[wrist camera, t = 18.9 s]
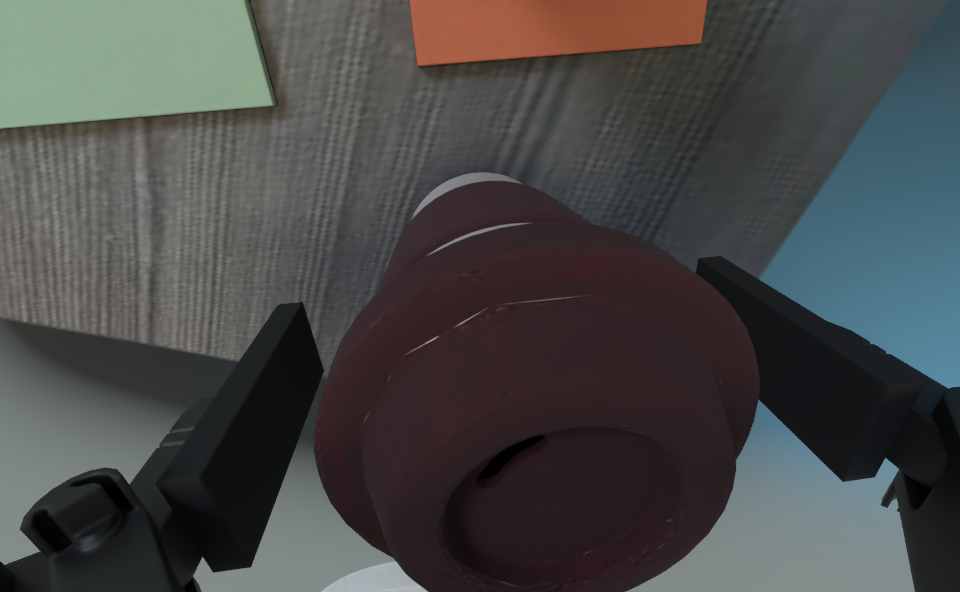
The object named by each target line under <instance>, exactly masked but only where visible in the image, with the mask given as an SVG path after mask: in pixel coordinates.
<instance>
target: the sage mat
mask: <svg viewBox="0 0 960 592" xmlns="http://www.w3.org/2000/svg"><path fill="white" fill-rule="evenodd" d="M276 105H277V103H276V100H275V96H274V92H273V89H272V85H271V81H270V78H269V74H268V70H267V67H266V63H265V59H264V56H263V52H262V48H261V44H260V41H259V37H258V33H257V30H256V26H255V22H254V19H253V15H252V11H251V8H250V4H249V0H0V129H4V128H16V127H28V126H40V125H52V124H64V123H76V122H88V121H100V120H112V119H124V118H136V117H147V116H159V115H171V114H183V113H195V112H207V111H219V110H231V109H243V108H255V107H267V106H276Z"/></svg>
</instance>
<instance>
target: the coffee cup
mask: <svg viewBox="0 0 960 592" xmlns="http://www.w3.org/2000/svg"><path fill="white" fill-rule="evenodd" d="M759 394H760V376H759V370H758V365H757V359H756V354H755V349H754V346H753V344H752V341H751V338H750V336H749V333H748V330H747V328H746V327H745V325H744V323H743V322H742V320H741V318H740V317H739V315H738V314H737V312H736V311H735V310H734V308H733V307H732V306H731V304H730V303H729V302H728V300H727V299H726V298H725V297H723V296H722V295H721V294H720V293H719V292H718V291H717V290H716V289H715V288H714V287H713V286H712V285H710V284H709V283H708V282H707V281H705V280H704V279H703V278H701V277H700V276H699V275H697V274H696V273H694V272H693V271H692V270H690V269H689V268H688V267H686V266H685V265H684V264H682V263H681V262H679V261H678V260H677V259H675V258H674V257H672V256H671V255H669V254H668V253H666V252H665V251H664V250H662V249H660V248H658V247H656V246H654V245H652V244H650V243H649V242H647V241H645V240H643V239H641V238H639V237H636V236H633V235H630V234H626V233H623V232H620V231H617V230H613V229H609V228H605V227H600V226H596V225H593V224H592V223H590V222H589V221H587V220H586V219H584V218H583V217H581V216H580V215H578V214H577V213H575V212H574V211H572V210H571V209H569V208H567V207H566V206H564V205H563V204H561V203H560V202H558V201H557V200H555V199H554V198H552V197H551V196H549V195H547V194H546V193H544V192H542V191H540V190H537V189H535V188H532V187H530V186H527V185H524V184H522V183H521V182H519V181H517V180H515V179H513V178H511V177H508V176H505V175H501V174H496V173H488V172H478V173H470V174H464V175H461V176H458V177H456V178H453V179H450V180H448V181H446V182H444V183H442V184H441V185H439V186H438V187H436V188H435V189H434V190H433V191H431V192H430V193H429V194H428V195H427V196H426V197H425V198H424V200H423V201H422V202H421V203H420V205H419V206H418V208H417V209H416V211H415V213H414V215H413V217H412V219H411V221H410V222H409V224H408V225H407V226H406V228H405V230H404V231H403V233H402V235H401V236H400V238H399V240H398V243H397V245H396V247H395V250H394V252H393V255H392V257H391V260H390V262H389V265H388V267H387V270H386V272H385V275H384V278H383V280H382V283H381V285H380V288H379V290H378V293H377V294H376V295H375V296H374V298H373V299H372V300H371V301H370V302H369V303H368V304H367V305H366V306H365V308H364V309H363V310H362V311H361V312H360V314H359V315H358V316H357V318H356V319H355V321H354V322H353V324H352V325H351V327H350V328H349V330H348V331H347V333H346V334H345V336H344V338H343V340H342V342H341V343H340V345H339V347H338V350H337V352H336V355H335V357H334V360H333V363H332V366H331V369H330V372H329V375H328V378H327V381H326V384H325V387H324V390H323V393H322V396H321V399H320V402H319V406H318V410H317V415H316V420H315V429H314V453H315V459H316V464H317V469H318V472H319V476H320V479H321V482H322V485H323V488H324V489H325V492H326V494H327V496H328V498H329V500H330V502H331V504H332V505H333V506H334V508H335V509H336V510H337V512H338V513H339V514H340V516H341V517H342V518H343V520H344V521H345V522H346V524H347V525H348V526H350V527H351V528H352V529H353V530H354V531H355V532H356V533H358V534H359V535H360V536H361V537H362V538H363V539H365V540H366V541H367V542H368V543H369V544H370V545H371V546H373V547H375V548H377V549H378V550H380V551H382V552H384V553H386V554H387V555H389V556H391V557H393V558H394V559H395V561H396V562H397V563H398V565H399V566H400V567H401V569H402V570H403V571H404V573H405V574H406V575H407V576H409V577H410V578H411V579H412V580H413V581H414V582H416V583H417V584H418V585H420V586H421V587H422V588H424V589H425V590H426V591H428V592H625V591H628V590H630V589H632V588H634V587H637V586H639V585H640V584H642V583H644V582H646V581H648V580H650V579H652V578H654V577H656V576H657V575H659V574H661V573H662V572H664V571H666V570H667V569H669V568H670V567H671V566H672V565H674V564H676V563H677V562H678V561H680V560H681V559H683V558H684V557H685V556H686V555H687V554H688V553H689V552H690V551H691V550H692V549H693V548H694V547H695V546H696V545H697V544H699V542H701V541H702V540H703V539H704V538H705V537H706V536H707V534H709V532H710V531H711V529H712V528H713V526H714V525H715V523H716V522H717V520H718V519H719V517H720V516H721V514H722V513H723V511H724V509H725V507H726V504H727V502H728V499H729V497H730V494H731V491H732V489H733V484H734V478H735V472H736V459H737V457H738V456H739V454H740V453H741V451H742V449H743V446H744V444H745V442H746V440H747V438H748V436H749V433H750V430H751V427H752V424H753V422H754V417H755V413H756V408H757V403H758V398H759Z"/></svg>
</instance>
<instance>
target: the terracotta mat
mask: <svg viewBox="0 0 960 592" xmlns="http://www.w3.org/2000/svg"><path fill="white" fill-rule="evenodd" d="M409 2H410V10H411V18H412V26H413V34H414V42H415V50H416V58H417V65H418V66H419V67H420V66H432V65H445V64H457V63H470V62H482V61H495V60H507V59H520V58H532V57H545V56H557V55H570V54H582V53H595V52H607V51H620V50H632V49H645V48H657V47H670V46H682V45H695V44H700V43H701V40H702V33H703V27H704V20H705V13H706V6H707V0H409Z"/></svg>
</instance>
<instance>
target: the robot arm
mask: <svg viewBox="0 0 960 592" xmlns="http://www.w3.org/2000/svg"><path fill="white" fill-rule="evenodd" d="M696 274H697V275H699V276H700V277H701V278H703V279H704V280H705V281H707V282H708V283H709V284H710V285H712V286H713V287H714V288H715V289H716V290H717V291H718V292H719V293H720V294H721V295H722V296H723V297H725V298H726V299H727V300H728V302H729V303H730V304H731V306H732V307H733V308H734V310H735V311H736V312H737V314H738V315H739V317H740V318H741V320H742V322H743V323H744V325H745V327H746V328H747V330H748V333H749V336H750V338H751V341H752V344H753V346H754V349H755V354H756V359H757V365H758V370H759V376H760V394H759V398H758V399H759V400H760V401H761V402H762V403H763V404H764V405H765V406H766V407H767V408H768V409H769V410H770V411H771V412H772V413H773V414H774V415H775V416H776V417H777V418H778V419H779V420H780V421H782V422H783V424H784V425H786V427H787V428H789V429H790V430H791V431H792V432H793V433H794V434H795V435H796V436H797V437H798V438H799V439H800V440H801V441H802V442H803V443H804V444H805V445H806V446H807V447H808V448H809V449H810V450H811V451H812V452H813V453H814V454H815V455H816V456H817V457H818V458H819V459H820V460H821V461H822V462H823V463H824V464H825V465H826V466H827V467H828V468H829V469H830V470H832V471H833V473H834V474H836V475H837V476H838V477H839V478H840V479H841V480H842V481H843V482H845V481H852V480H859V479H865V478H872V477H875V476H876V474H877V472H878V470H879V468H880V466H881V465H882V463H883V461H884V459H885V457H886V458H887V459H888V460H889V461H890V462H892V463H893V464H894V465H895V466H896V467H898V468H899V471H898V472H897V474H896V476H895V478H894V479H893V481H892V483H891V484H890V486H889V488H888V490H887V491H886V493H885V495H884V497H883V498H882V503H881V505H882V506H884V507H887V508H888V506H889V504H890V503H891V501H892V500H894V499H897V501H898V506H899V508H898V510H897V511H898V512H900V516H901V521H902V527H903V531H904V537H905V542H906V547H907V552H908V558H909V563H910V568H911V573H912V578H913V584H914V589H915V592H960V387H953V388H950V389H948V388H946V387H945V386H943V385H941V384H940V383H938V382H936V381H934V380H933V379H931V378H929V377H928V376H926V375H924V374H923V373H921V372H919V371H918V370H916V369H914V368H913V367H911V366H909V365H908V364H906V363H904V362H903V361H901V360H899V359H898V358H896V357H894V356H893V355H891V354H886V351H884V350H883V349H881V348H879V347H878V346H876V345H874V344H870V342H869V341H868V340H866V339H864V338H863V337H861V336H859V335H858V334H856V333H854V332H853V331H851V330H848V329H846V328H843V327H841V326H838V325H835V324H833V323H830V322H828V321H826V320H824V319H822V318H821V317H819V316H817V315H816V314H814V313H813V312H811V311H809V310H808V309H806V308H804V307H803V306H801V305H800V304H798V303H796V302H794V301H793V300H791V299H789V298H788V297H786V296H785V295H783V294H782V293H780V292H778V291H777V290H775V289H773V288H772V287H770V286H768V285H767V284H765V283H764V282H762V281H760V280H759V279H757V278H755V277H754V276H752V275H751V274H749V273H747V272H746V271H744V270H742V269H741V268H739V267H737V266H736V265H734V264H733V263H731V262H729V261H728V260H726V259H724V258H723V257H721V256H716V257H707V258H699V259H698V264H697V269H696ZM323 372H324V369H323V366H322V363H321V360H320V357H319V353H318V350H317V347H316V344H315V340H314V337H313V334H312V331H311V328H310V324H309V321H308V318H307V315H306V311H305V308H304V305H303V302H298V303H289V304H280V305H278V306H277V307H276V309H275V310H274V311H273V313H272V314H271V316H270V317H269V319H268V320H267V322H266V323H265V325H264V326H263V327H262V329H261V330H260V332H259V333H258V335H257V336H256V338H255V339H254V341H253V342H252V344H251V345H250V346H249V348H248V349H247V351H246V352H245V354H244V355H243V357H242V358H241V360H240V361H239V362H238V364H237V365H236V367H235V368H234V370H233V371H232V373H231V374H230V376H229V377H228V379H227V380H226V382H225V383H224V385H223V386H222V387H221V389H220V390H219V392H218V393H217V395H216V396H215V397H209V398H202V399H200V400H199V401H198V402H197V403H196V404H194V405H193V406H192V407H190V408H189V409H188V410H187V411H185V412H184V413H183V414H182V415H181V416H180V418H179V419H178V421H177V422H176V423H175V425H174V426H173V427H172V429H171V430H170V434H167V435H166V437H165V438H164V439H163V441H162V442H161V443H160V448H157V449H156V450H155V451H154V453H153V454H152V455H151V457H150V458H149V459H148V461H147V462H146V463H145V465H144V466H143V467H142V469H141V470H140V471H139V473H138V474H137V475H136V477H135V478H134V479H133V481H132V482H131V483H130V485H129V484H128V483H127V481H126V480H125V478H124V477H123V475H122V474H121V473H120V472H119V471H118V470H117V469H111V468H101V469H96V470H91V471H88V472H85V473H83V474H80V475H78V476H75V477H73V478H70V479H69V480H67V481H66V482H64V483H62V484H61V485H59V486H57V487H56V488H54V489H52V490H51V491H50V492H48V493H47V494H46V495H45V496H43V497H42V498H41V499H40V500H39V501H38V502H36V503H35V504H34V506H33V507H32V508H31V509H30V510H29V512H28V513H27V514H26V515H25V516H24V518H23V521H22V524H21V528H20V530H21V531H22V532H23V533H24V534H25V535H26V536H27V537H28V538H29V539H30V540H31V541H32V542H33V544H34V545H35V546H36V547H37V548H38V549H39V550H40V551H41V552H38V553H35V554H33V555H30V556H27V557H25V558H22V559H19V560H17V561H14V562H12V563H9V564H6V565H4V564H3V563H1V562H0V592H201V589H200V587H199V584H198V583H197V582H196V580H195V579H194V577H193V575H194V573H195V571H196V569H197V566H198V564H199V562H200V560H201V558H202V556H203V558H204V559H205V561H206V562H207V564H208V565H209V567H210V568H211V570H212V571H213V572H220V571H227V570H234V569H241V568H247V567H251V566H252V563H253V560H254V557H255V554H256V552H257V549H258V547H259V544H260V541H261V538H262V536H263V533H264V531H265V528H266V525H267V522H268V520H269V517H270V514H271V512H272V509H273V506H274V504H275V501H276V498H277V496H278V493H279V490H280V488H281V485H282V482H283V480H284V477H285V474H286V472H287V468H288V466H289V463H290V461H291V458H292V455H293V452H294V450H295V447H296V444H297V442H298V439H299V436H300V434H301V431H302V429H303V426H304V423H305V420H306V418H307V415H308V412H309V410H310V407H311V404H312V401H313V399H314V396H315V393H316V391H317V388H318V386H319V383H320V380H321V378H322V375H323Z"/></svg>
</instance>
